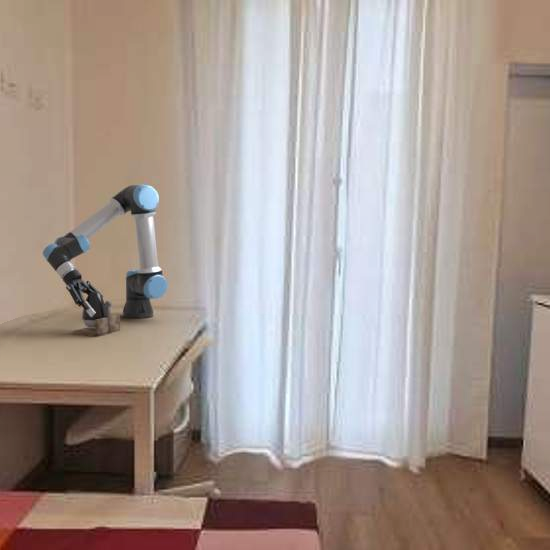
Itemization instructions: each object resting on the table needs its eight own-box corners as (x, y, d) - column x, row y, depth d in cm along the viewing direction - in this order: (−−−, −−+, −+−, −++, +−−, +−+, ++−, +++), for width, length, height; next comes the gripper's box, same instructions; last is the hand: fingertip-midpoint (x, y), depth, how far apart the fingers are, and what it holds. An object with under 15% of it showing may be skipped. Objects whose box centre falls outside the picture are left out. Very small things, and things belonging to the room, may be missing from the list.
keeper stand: (94, 328, 287) (94, 297, 286) (121, 330, 283) (121, 299, 281) (72, 334, 272) (71, 301, 271) (99, 336, 268) (99, 303, 266)
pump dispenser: (110, 324, 282) (110, 290, 281) (101, 329, 272) (101, 293, 271) (87, 323, 283) (87, 289, 282) (78, 328, 273) (78, 292, 272)
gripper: (80, 278, 291) (110, 315, 288) (47, 282, 271) (79, 322, 267) (90, 266, 289) (120, 304, 285) (57, 270, 268) (90, 311, 265)
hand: (100, 313), depth 276 cm, fingers closed on pump dispenser, 9 cm apart
